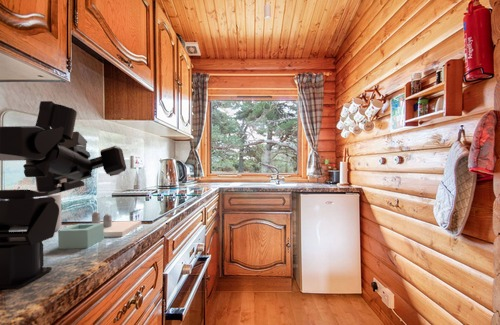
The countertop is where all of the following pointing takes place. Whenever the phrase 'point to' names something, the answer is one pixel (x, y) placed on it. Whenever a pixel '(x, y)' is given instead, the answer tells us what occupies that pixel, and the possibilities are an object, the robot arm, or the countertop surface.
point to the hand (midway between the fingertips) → (101, 178)
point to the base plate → (115, 225)
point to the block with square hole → (80, 235)
